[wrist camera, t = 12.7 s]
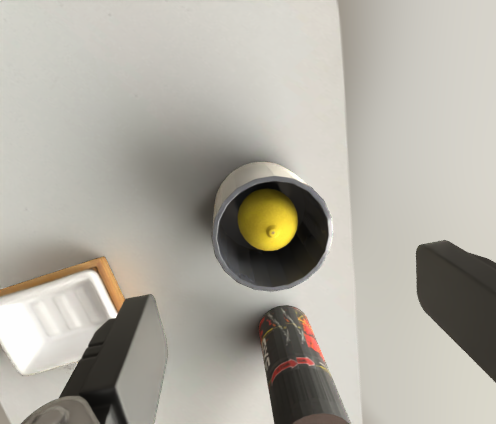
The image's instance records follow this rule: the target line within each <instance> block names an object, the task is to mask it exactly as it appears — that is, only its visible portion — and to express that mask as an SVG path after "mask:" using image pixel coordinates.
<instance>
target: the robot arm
mask: <svg viewBox="0 0 496 424" xmlns="http://www.w3.org/2000/svg"><path fill="white" fill-rule="evenodd" d="M416 267H417V268H416V273H417V295H418V299H419V302H420V304H421V306H422V308H423V310H424V311H425V312H426V313H427V314H428V315H429V316H430V317H431V318H432V319H433V320H434V321H435V322H436V323H437V324H438V325H439V326H440V327H441V328H442V329H443V330H444V331H445V332H446V333H447V334H448V335H449V336H450V337H451V338H452V339H453V340H454V341H455V342H456V343H457V344H458V345H459V346H460V347H461V348H462V349H463V350H464V351H465V352H466V353H467V354H468V355H469V356H470V357H471V358H472V359H473V360H474V361H475V362H476V363H477V364H478V365H479V366H480V367H481V368H482V369H483V370H484V371H485V372H486V373H487V374H488V375H489V376H490V377H491V378H492V379H493V380H494V381H495V382H496V263H495V262H493V261H491V260H489V259H487V258H484V257H481V256H478V255H474V254H471V253H468V252H466V251H464V250H463V249H461V248H459V247H457V246H455V245H454V244H452V243H451V242H449V241H446V240H443V241H438V242H432V243H427V244H422V245H419V246H418V248H417V251H416ZM167 357H168V349H167V341H166V337H165V333H164V329H163V326H162V322H161V319H160V315H159V312H158V308H157V304H156V301H155V298H154V296H153V295H152V294H149V295H144V296H138V297H133V298H128V299H125V300H124V302H123V304H122V306H121V308H120V310H119V312H118V314H117V316H116V318H112V319H108V320H107V321H106V322H105V323H104V324H103V325H102V326H101V327H100V328H99V329H98V330H97V331H96V332H95V333H94V335H93V337H92V339H91V341H90V342H89V344H88V348H86V350H85V352H84V353H83V355H82V359H80V361H79V362H78V364H77V366H76V368H75V370H74V372H73V373H72V375H71V377H70V379H69V381H68V382H67V384H66V386H65V388H64V390H63V391H62V393H61V395H60V397H59V399H56V400H53V401H51V402H49V403H47V404H45V405H43V406H42V407H40V408H39V409H37V410H36V411H35V412H33V413H32V414H31V415H30V416H28V417H27V418H26V419H25V420H24V421H23V422H22V423H21V424H154V422H155V417H156V412H157V407H158V402H159V397H160V393H161V388H162V383H163V378H164V373H165V368H166V364H167Z"/></svg>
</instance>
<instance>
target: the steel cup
mask: <svg viewBox="0 0 496 424" xmlns="http://www.w3.org/2000/svg"><path fill="white" fill-rule="evenodd" d="M267 188H268V189H274V190H277V191H279V192H282V193H283V194H285V195H286V196H287V197H288V198H289V199H290V200H291V201H292V203H293V204H294V206H295V209H296V211H297V217H298V225H297V231H296V233H295V235H294V237H293V239H292V240H291V241H290V242H289V243H288V244H287V245H286V246H284V247H282V248H280V249H278V250H274V251H264V250H260V249H257V248H255V247H254V246H252V245H250V244H249V243H248V242H247V241H246V240H245V239H244V237H243V235H242V234H241V232H240V229H239V226H238V211H239V207H240V205H241V204H242V202H243V200H244V199H245V198H246V197H247V196H248V195H249V194H251V193H252V192H254V191H257V190H259V189H267ZM332 238H333V226H332V217H331V214H330V212H329V210H328V208H327V206H326V204H325V201H324V200H323V199H322V198H321V197H320V196H319V195H318V194H317V193H316V192H315V191H314V189H313V188H312V187H310V186H309V185H308V184H307V183H305V182H304V181H303V180H302V179H301V178H299V177H298V176H297V175H296V174H294V173H293V172H292V171H291V170H289V169H287V168H285V167H283V166H281V165H279V164H276V163H273V162H266V161H259V162H252V163H248V164H245V165H243V166H241V167H239V168H237V169H235V170H234V171H233V172H231V173H230V174H229V175H228V176H227V177H226V178H225V180H224V181H223V182H222V184H221V185H220V187H219V190H218V192H217V194H216V198H215V206H214V215H213V228H212V242H213V247H214V252H215V256H216V258H217V259H218V261H219V263H220V265H221V266H222V268H223V270H224V271H225V272H226V273H227V274H228V275H230V276H231V277H232V278H233V279H234V280H235V281H236V282H238V283H240V284H242V285H245V286H247V287H249V288H252V289H254V290H263V291H278V290H283V289H289V288H292V287H294V286H296V285H298V284H300V283H302V282H304V281H306V280H307V279H308V278H309V277H311V276H312V275H313V274H314V273H315V272H316V271H317V270H318V269H319V268H320V267H321V265H322V264H323V262H324V260H325V259H326V257H327V255H328V254H329V251H330V247H331V243H332Z"/></svg>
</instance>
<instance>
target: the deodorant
mask: <svg viewBox="0 0 496 424" xmlns="http://www.w3.org/2000/svg"><path fill="white" fill-rule="evenodd" d="M259 335H260V341H261V347H262V353H263V359H264V365H265V371H266V377H267V383H268V389H269V394H270V400H271V406H272V412H273V418H274V424H351V422H350V420H349V418H348V415H347V413H346V410H345V408H344V406H343V403H342V401H341V398H340V396H339V394H338V391H337V389H336V386H335V384H334V382H333V379H332V377H331V374H330V372H329V370H328V367H327V365H326V362H325V360H324V358H323V355H322V353H321V350H320V348H319V346H318V343H317V341H316V338H315V336H314V334H313V331H312V329H311V326H310V324H309V322H308V319H307V317H306V316H305V314H304V313H303V312H302V311H301V310H299V309H297V308H295V307H292V306H279V307H276V308H273V309H272V310H270V311H268V312H267V313H266V314H265V315H264V316H263V318H262V319H261V321H260V325H259Z"/></svg>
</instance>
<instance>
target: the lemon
mask: <svg viewBox="0 0 496 424" xmlns="http://www.w3.org/2000/svg"><path fill="white" fill-rule="evenodd" d="M297 225H298V217H297V211H296V209H295V206H294V204H293V203H292V201H291V200H290V199H289V198H288V197H287V196H286V195H285V194H283V193H282V192H279V191H277V190H274V189H268V188H267V189H259V190H257V191H254V192H252V193H251V194H249V195H248V196H247V197H246V198H245V199H244V200H243V202H242V204H241V205H240V207H239V211H238V226H239V229H240V232H241V234H242V235H243V237H244V239H245V240H246V241H247V242H248V243H249V244H250V245H252V246H254V247H255V248H257V249H260V250H264V251H274V250H278V249H280V248H282V247H284V246H286V245H287V244H288V243H289V242H290V241H291V240H292V239H293V237H294V235H295V233H296V231H297Z"/></svg>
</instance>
